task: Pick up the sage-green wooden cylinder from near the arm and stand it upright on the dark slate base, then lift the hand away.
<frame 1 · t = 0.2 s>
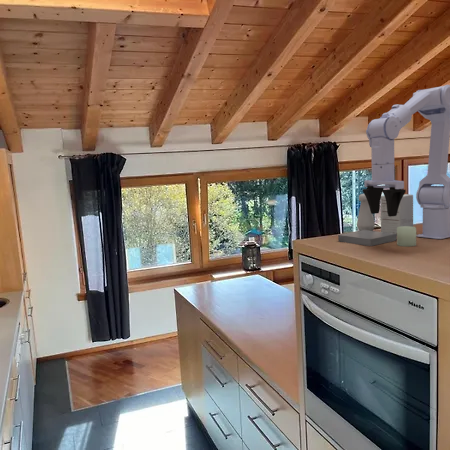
hand: (383, 214, 117), 10 cm above the counter, fingers open, 7 cm apart
salt shaker: (365, 232, 147), on the counter
slate base: (367, 240, 131), on the counter
green cylinder: (406, 244, 122), on the counter
supplement box: (396, 234, 141), on the counter
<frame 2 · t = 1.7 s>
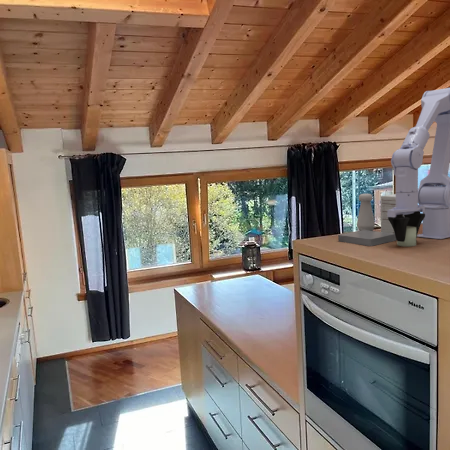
hand: (406, 239, 122), 1 cm above the counter, fingers closed on green cylinder, 5 cm apart
green cylinder: (406, 244, 122), on the counter, touching gripper
everything else where it was.
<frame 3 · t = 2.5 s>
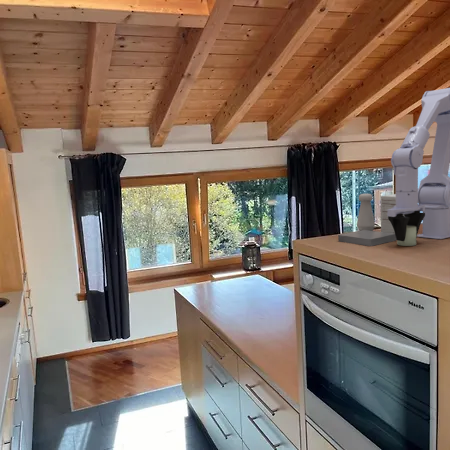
hand: (406, 239, 122), 2 cm above the counter, fingers closed on green cylinder, 5 cm apart
green cylinder: (406, 244, 122), on the counter, touching gripper
everything else where it was.
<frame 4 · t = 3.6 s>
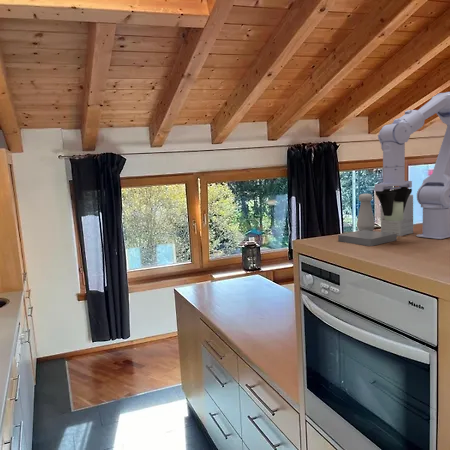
hand: (393, 214, 124), 8 cm above the counter, fingers closed on green cylinder, 5 cm apart
green cylinder: (393, 219, 124), point 7 cm above the counter, touching gripper
everything else where it was.
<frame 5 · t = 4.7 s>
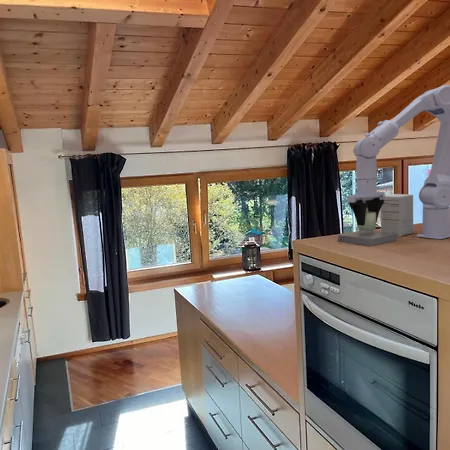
hand: (366, 224, 131), 5 cm above the counter, fingers closed on green cylinder, 5 cm apart
green cylinder: (367, 228, 131), point 4 cm above the counter, touching gripper
everything else where it was.
when the fingers open (4 cm above the counter, at t = 5.3 s): green cylinder stays where it is, resting on slate base.
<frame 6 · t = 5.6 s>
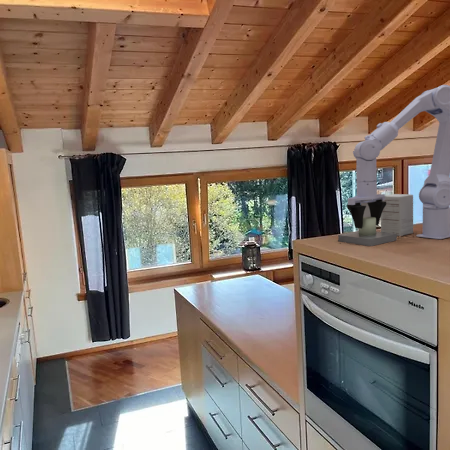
hand: (367, 226, 131), 4 cm above the counter, fingers open, 7 cm apart
green cylinder: (367, 234, 131), point 2 cm above the counter, touching slate base
everything else where it was.
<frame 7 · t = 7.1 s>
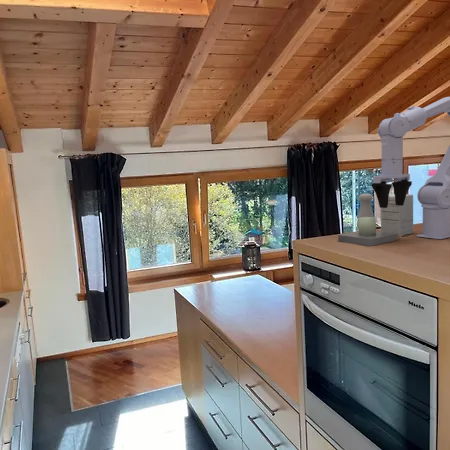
hand: (391, 206, 127), 10 cm above the counter, fingers open, 7 cm apart
nothing on the counter moved.
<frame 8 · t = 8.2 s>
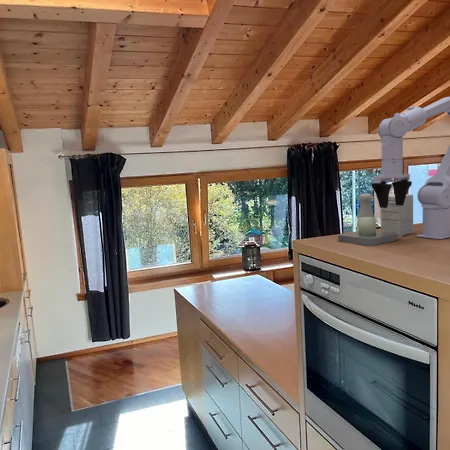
hand: (391, 206, 127), 10 cm above the counter, fingers open, 7 cm apart
nothing on the counter moved.
at the end: green cylinder inside the target area on the slate base (0.1 cm from its centre), point 2.0 cm above the slate base's base; green cylinder tilted 0°; the gripper is holding nothing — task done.
